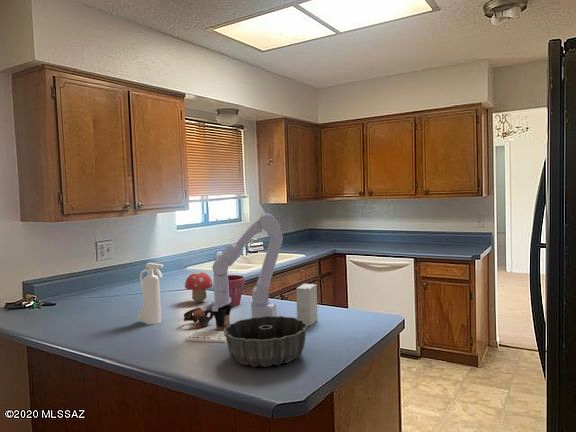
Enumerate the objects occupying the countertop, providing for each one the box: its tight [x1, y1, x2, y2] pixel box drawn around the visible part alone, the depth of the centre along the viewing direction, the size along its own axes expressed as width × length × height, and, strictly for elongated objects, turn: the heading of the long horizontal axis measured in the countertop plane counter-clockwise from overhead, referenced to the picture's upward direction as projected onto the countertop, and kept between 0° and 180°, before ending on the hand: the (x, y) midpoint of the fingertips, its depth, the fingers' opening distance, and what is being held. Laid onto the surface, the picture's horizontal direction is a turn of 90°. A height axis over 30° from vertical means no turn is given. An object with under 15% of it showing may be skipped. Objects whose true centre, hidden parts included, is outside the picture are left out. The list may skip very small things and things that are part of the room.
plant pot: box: [227, 274, 246, 307], centre depth 213 cm, size 14×14×13 cm
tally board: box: [185, 329, 227, 344], centre depth 164 cm, size 15×10×1 cm, turn 76°
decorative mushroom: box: [184, 271, 214, 303], centre depth 219 cm, size 13×13×15 cm
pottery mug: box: [183, 307, 214, 330], centre depth 180 cm, size 12×10×8 cm
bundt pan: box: [223, 315, 309, 368], centre depth 141 cm, size 26×26×10 cm
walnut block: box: [215, 315, 231, 331], centre depth 174 cm, size 4×4×5 cm
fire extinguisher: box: [137, 262, 165, 325], centre depth 186 cm, size 7×12×25 cm, turn 72°
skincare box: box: [296, 283, 319, 327], centre depth 177 cm, size 8×6×15 cm
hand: (222, 325), depth 174 cm, fingers closed on walnut block, 4 cm apart
